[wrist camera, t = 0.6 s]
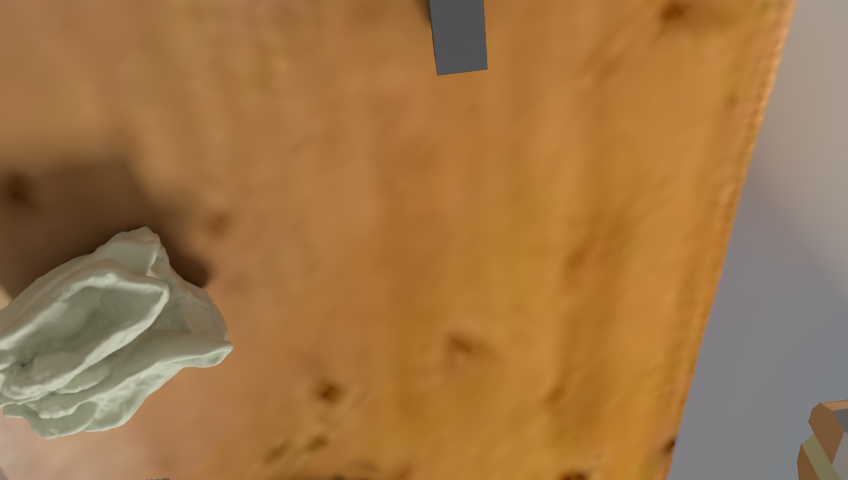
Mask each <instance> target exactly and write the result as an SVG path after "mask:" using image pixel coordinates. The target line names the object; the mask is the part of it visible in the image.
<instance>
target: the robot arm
mask: <svg viewBox="0 0 848 480" xmlns="http://www.w3.org/2000/svg"><path fill="white" fill-rule="evenodd" d="M808 422H809V424H810V426H811V428H812V430H813V432H814V434H813V435H812V436H811V437H810V438H808V439H807V440H806V441H805V442H803V443H802V444H801V447H800V451H799V455H798V460H797V466H798V476H799V480H848V399H847V400H839V401H831V402H824V403H819V404H818V405H817V406H815V407H814V408H813V409H812V412H811V415H810V418H809V421H808ZM149 480H170V479H169V478H160V479H149Z"/></svg>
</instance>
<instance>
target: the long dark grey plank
mask: <svg viewBox="0 0 848 480" xmlns="http://www.w3.org/2000/svg"><path fill="white" fill-rule="evenodd" d="M429 10H430V19H431V29H432V38H433V48H434V56H435V63H436V69H437V76H438V75H446V74H455V73H463V72H471V71H479V70H487V69H488V68H487V51H486V34H485V17H484V1H483V0H429Z"/></svg>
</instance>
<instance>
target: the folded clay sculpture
mask: <svg viewBox="0 0 848 480" xmlns="http://www.w3.org/2000/svg"><path fill="white" fill-rule="evenodd" d="M227 339H228V329H227V326H226V323H225V321H224V318H223V316H222V315H221V313H220V311H219V309H218V308H217V306H216V305H215V304H214V303H213V301H212V299H211V298H210V296H209V295H208V293H207V292H205V291H204V290H203V289H201V288H199V287H197V286H195V285H193V284H191V283H189V282H187V281H185V280H183V279H182V278H181V277H180V276H179V275H178V274H177V273H176V271H174V270H173V268H172V267H171V266H170V264H169V258H168V255H167V253H166V250H165V248H164V247H163V245H162V244H161V243H160V238H159V236H158V235H157V234H155V233H153V232H152V231H151V230H150V228H149V227H147V226H144V227H142V228H139V229H137V230H131V231H129V232H120V233H118V234H116V235H115V236H114V237H112V238H111V239H110V240H109V241H108V242H107V243H106V244H104V245H102V246H100V247H98V248H97V249H96V251H95V252H94V253H92V254H87V255H84V256H79V257H76V258H74V259H72V260H70V261H68V262H66V263H64V264H62V265H60V266H58V267H57V268H55V269H53V270H51V271H50V272H48V273H46V274H45V275H43V276H42V277H39V278H37V279H36V280H35V281H34V282H33V283H32V284H31V285H30V286H29V287H28V288H26V289H25V290H24V291H23V292H21V293H20V294H19V295H18V296H17V297H16V298H15V299H14V300H13V301H12V302H11V303H10V304H9V305H8V306H6V307H4V308H3V309H1V310H0V407H2V406H4V405H5V406H4V408H3V415H4V416H5V417H8V418H24V419H25V420H26V421H27V422H28V424H29V425H30V427H31V428H32V430H33V431H34V432H36V433H37V434H39V435H40V436H42V437H43V438H45V439H53V438H55V437H57V436H66V435H71V434H75V433H77V432H79V431H85V432H93V431H105V430H108V429H111V428H116V427H119V426H121V425H123V424H124V423H126V422H127V421H128V420H129V419H130V418H131V417H132V415H133V414H134V413H135V412H136V410H137V409H138V408H139V406H140V405H141V404H142V403H143V401H144V400H145V399H146V398H147V396H148V395H150V394H151V393H153V392H154V391H156V390H157V389H159V388H160V387H161V386H162V385H163V384H164V383H165V382H166V381H168V380H169V379H170V378H171V377H172V376H174V375H175V374H176V373H177V372H178V371H180V370H181V369H182V368H183V367H189V366H192V367H208V366H214V365H217V364H219V363H220V362H221V361H222V360H223V359H224V358H225V357H226V355H227V354H229V353H230V352H231V351H232V349H233V344H232V343H231V342H229V341H227Z"/></svg>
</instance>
